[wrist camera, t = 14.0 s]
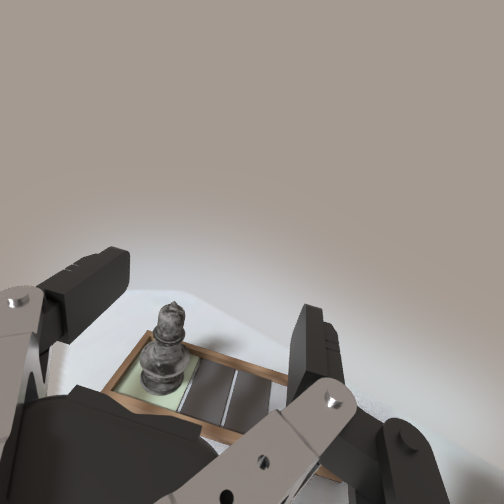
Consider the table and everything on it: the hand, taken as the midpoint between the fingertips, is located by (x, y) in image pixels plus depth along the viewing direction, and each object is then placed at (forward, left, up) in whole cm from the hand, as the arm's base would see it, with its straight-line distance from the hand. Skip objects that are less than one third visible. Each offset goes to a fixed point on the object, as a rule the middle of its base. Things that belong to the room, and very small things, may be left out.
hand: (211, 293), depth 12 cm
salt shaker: (+6, -13, -24) cm, 28 cm away
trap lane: (-3, -13, -24) cm, 28 cm away
